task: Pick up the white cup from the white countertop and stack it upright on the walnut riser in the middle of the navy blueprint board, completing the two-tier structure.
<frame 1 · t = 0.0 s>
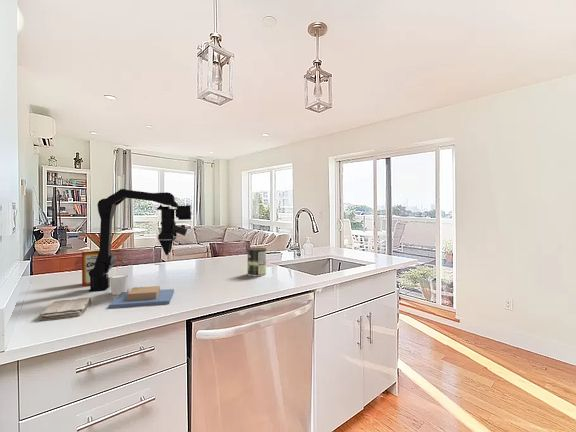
hand: (168, 253, 143), 15 cm above the worktop, fingers open, 9 cm apart
coffee can: (256, 274, 168), on the worktop
white cup: (119, 293, 129), on the worktop
blueprint board: (144, 299, 120), on the worktop
baking soda box: (94, 283, 146), on the worktop
washcloth: (67, 312, 106), on the worktop
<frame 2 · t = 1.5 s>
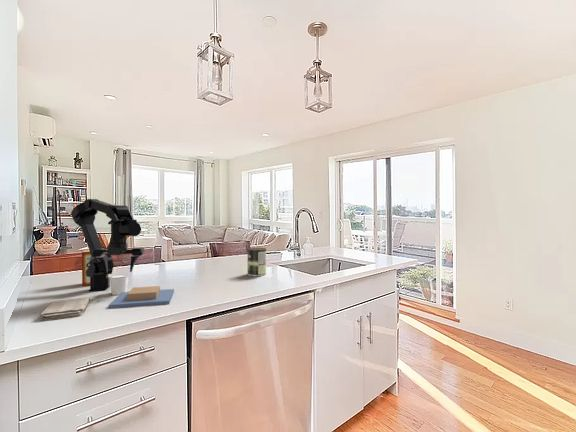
hand: (118, 272, 129), 9 cm above the worktop, fingers open, 9 cm apart
nothing on the worktop moved.
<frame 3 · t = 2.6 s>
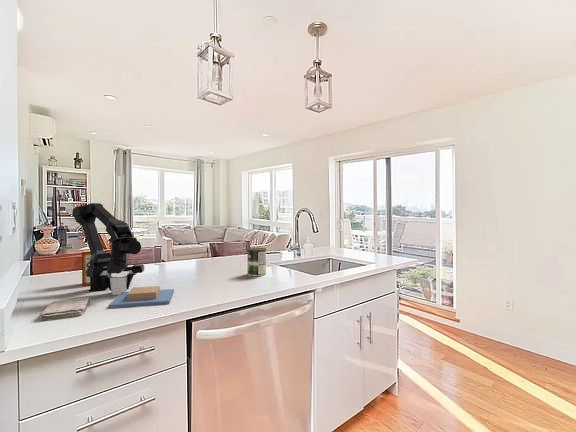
hand: (119, 290, 129), 1 cm above the worktop, fingers closed on white cup, 6 cm apart
white cup: (119, 293, 129), on the worktop, touching gripper
everything else where it was.
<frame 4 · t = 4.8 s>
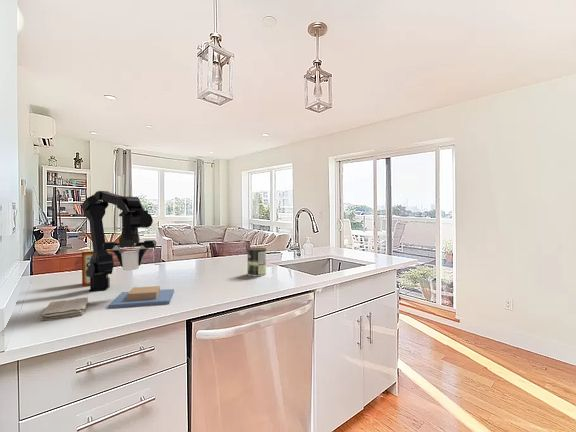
hand: (130, 266, 125), 12 cm above the worktop, fingers closed on white cup, 6 cm apart
white cup: (130, 269, 125), point 11 cm above the worktop, touching gripper
everything else where it was.
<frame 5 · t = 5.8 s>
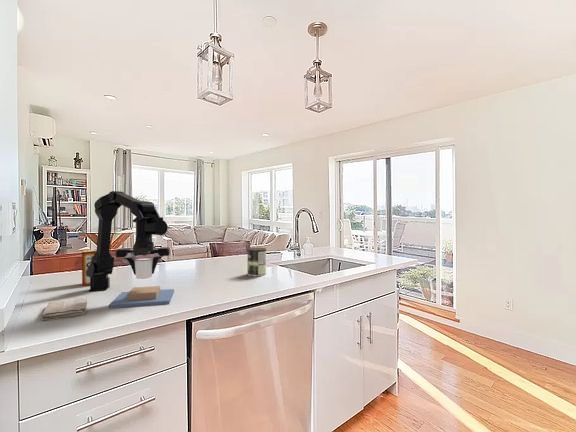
hand: (144, 274, 120), 10 cm above the worktop, fingers closed on white cup, 6 cm apart
white cup: (144, 277, 120), point 8 cm above the worktop, touching gripper
everything else where it was.
when the fingers open (6 cm above the worktop, at t = 6.9 s): white cup stays where it is, resting on blueprint board.
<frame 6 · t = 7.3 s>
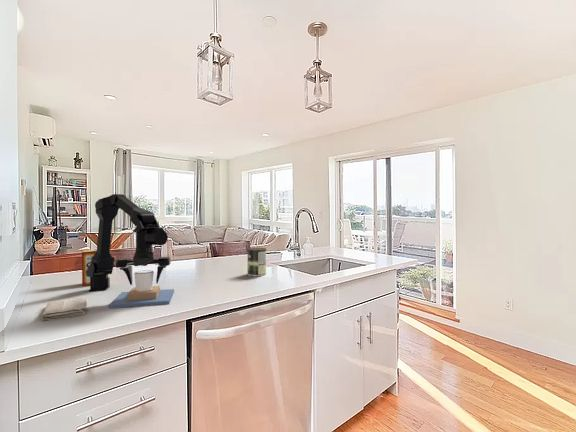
hand: (144, 284, 120), 6 cm above the worktop, fingers open, 9 cm apart
white cup: (144, 290, 120), point 4 cm above the worktop, touching blueprint board
everything else where it was.
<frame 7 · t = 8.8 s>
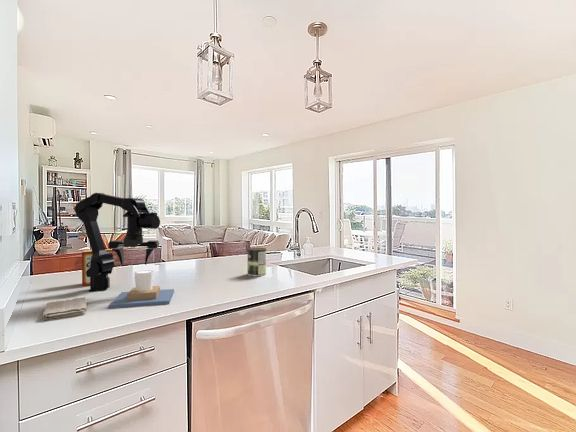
hand: (134, 264, 131), 12 cm above the worktop, fingers open, 9 cm apart
nothing on the worktop moved.
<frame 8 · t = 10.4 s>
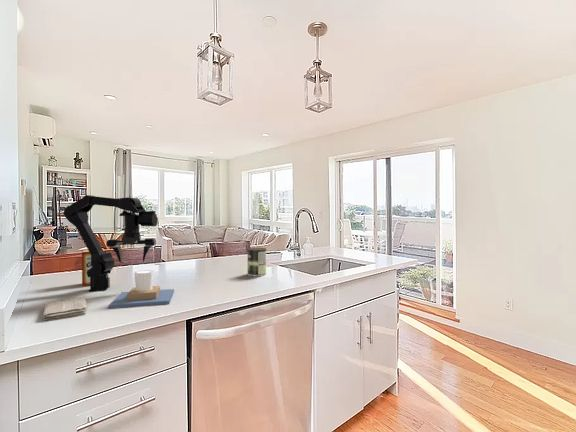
hand: (132, 262, 135), 12 cm above the worktop, fingers open, 9 cm apart
at the end: white cup 0.1 cm off-centre on the blueprint board, point 3.5 cm above the blueprint board's base; white cup tilted 0°; the gripper is holding nothing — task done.
